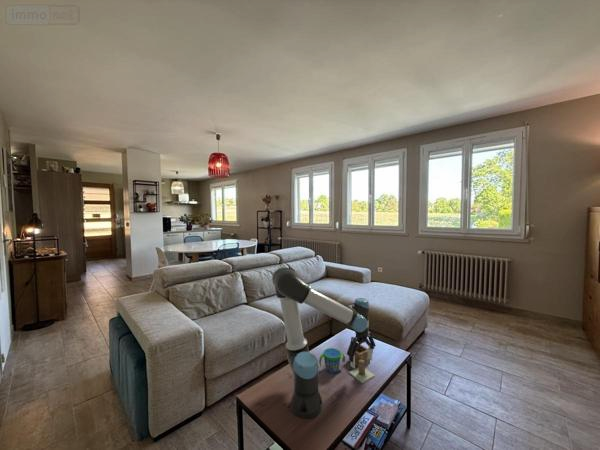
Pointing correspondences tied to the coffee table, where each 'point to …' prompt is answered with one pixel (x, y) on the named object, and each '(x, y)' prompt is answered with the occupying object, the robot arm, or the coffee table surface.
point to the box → (361, 355)
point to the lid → (361, 372)
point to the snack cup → (332, 359)
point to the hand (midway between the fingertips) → (361, 363)
